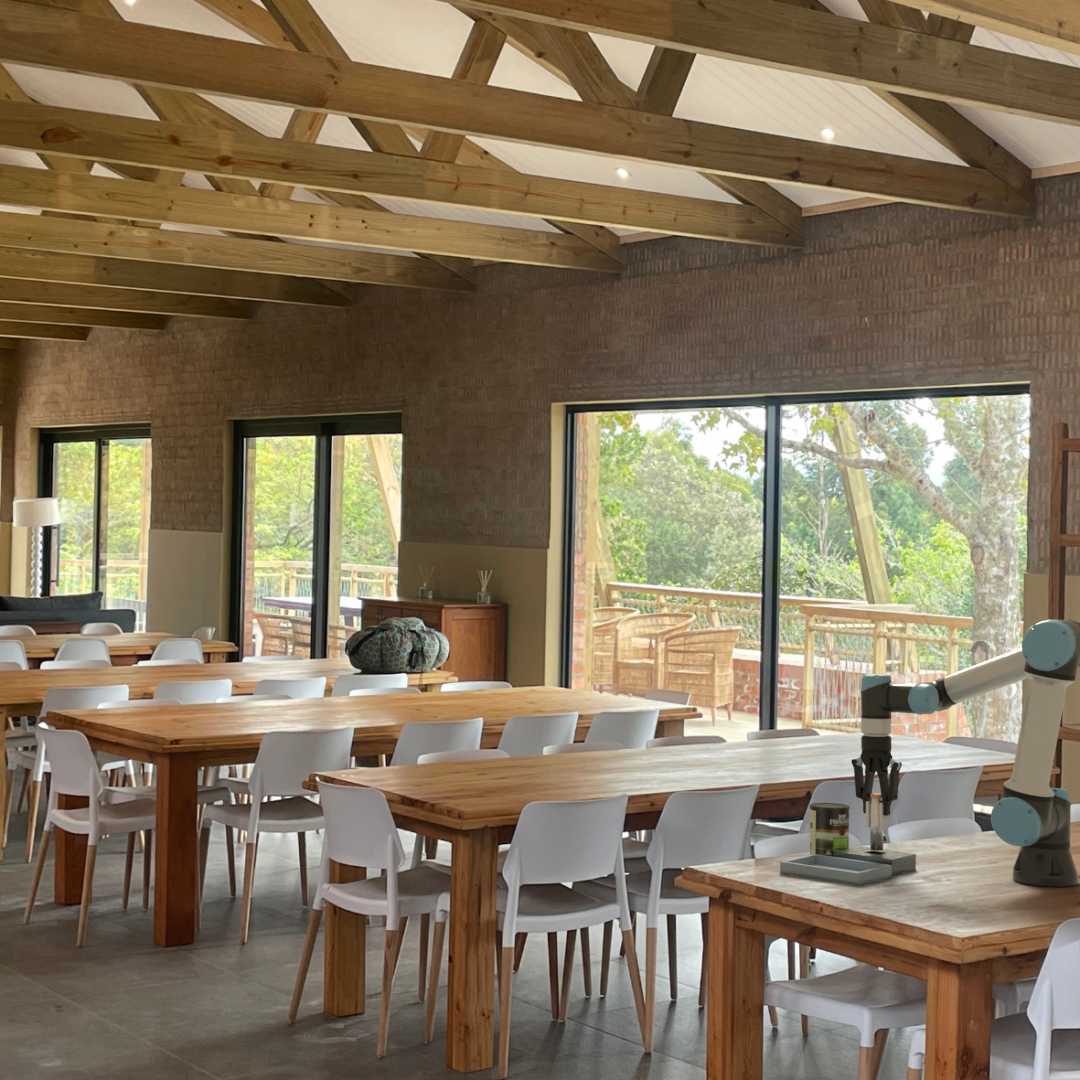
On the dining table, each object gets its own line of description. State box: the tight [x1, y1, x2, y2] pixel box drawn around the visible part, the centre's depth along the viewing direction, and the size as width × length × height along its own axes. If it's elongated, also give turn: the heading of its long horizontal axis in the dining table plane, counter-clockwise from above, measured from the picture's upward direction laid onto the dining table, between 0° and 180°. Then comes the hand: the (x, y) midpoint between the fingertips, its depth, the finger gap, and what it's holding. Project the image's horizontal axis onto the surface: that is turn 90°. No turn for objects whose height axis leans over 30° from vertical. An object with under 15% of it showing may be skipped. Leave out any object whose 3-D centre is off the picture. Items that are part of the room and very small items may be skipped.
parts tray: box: [779, 854, 893, 887], centre depth 368 cm, size 22×16×3 cm
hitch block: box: [836, 845, 917, 877], centre depth 378 cm, size 16×12×4 cm
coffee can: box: [809, 802, 850, 857], centre depth 392 cm, size 10×10×14 cm
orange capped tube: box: [869, 792, 884, 851], centre depth 379 cm, size 3×3×14 cm
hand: (876, 827), depth 379 cm, fingers closed on orange capped tube, 3 cm apart
